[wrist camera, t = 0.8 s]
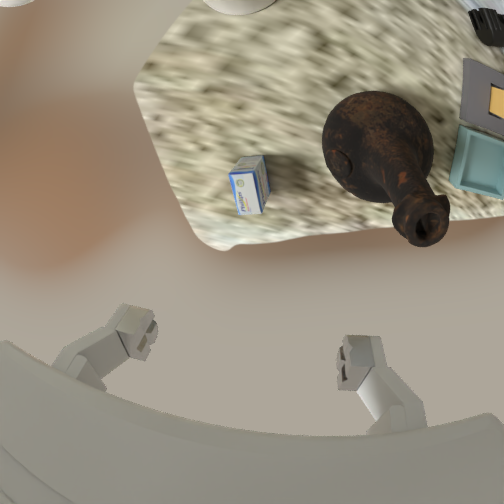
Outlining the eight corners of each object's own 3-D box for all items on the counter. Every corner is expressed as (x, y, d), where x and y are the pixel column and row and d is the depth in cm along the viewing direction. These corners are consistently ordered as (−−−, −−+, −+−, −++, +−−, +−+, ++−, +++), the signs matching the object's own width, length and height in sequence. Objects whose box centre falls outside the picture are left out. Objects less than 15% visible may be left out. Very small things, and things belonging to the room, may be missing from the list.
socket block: (463, 58, 25) (470, 58, 23) (515, 83, 22) (522, 85, 20) (459, 118, 32) (465, 121, 30) (509, 137, 29) (516, 141, 27)
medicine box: (271, 191, 52) (262, 214, 46) (249, 193, 53) (237, 216, 47) (263, 153, 47) (253, 171, 41) (240, 156, 49) (226, 174, 42)
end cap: (477, 45, 21) (497, 46, 16) (465, 10, 18) (483, 7, 13) (511, 48, 17) (531, 51, 12) (500, 15, 14) (520, 15, 8)
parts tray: (459, 124, 33) (468, 129, 30) (507, 142, 30) (517, 148, 27) (448, 180, 40) (455, 188, 38) (495, 191, 37) (502, 199, 35)
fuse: (487, 85, 25) (511, 93, 19) (497, 89, 25) (521, 98, 19) (485, 109, 28) (508, 120, 22) (494, 113, 28) (518, 125, 22)
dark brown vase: (310, 95, 38) (303, 136, 17) (411, 84, 32) (511, 124, 11) (332, 187, 48) (336, 305, 28) (421, 177, 42) (483, 286, 21)
